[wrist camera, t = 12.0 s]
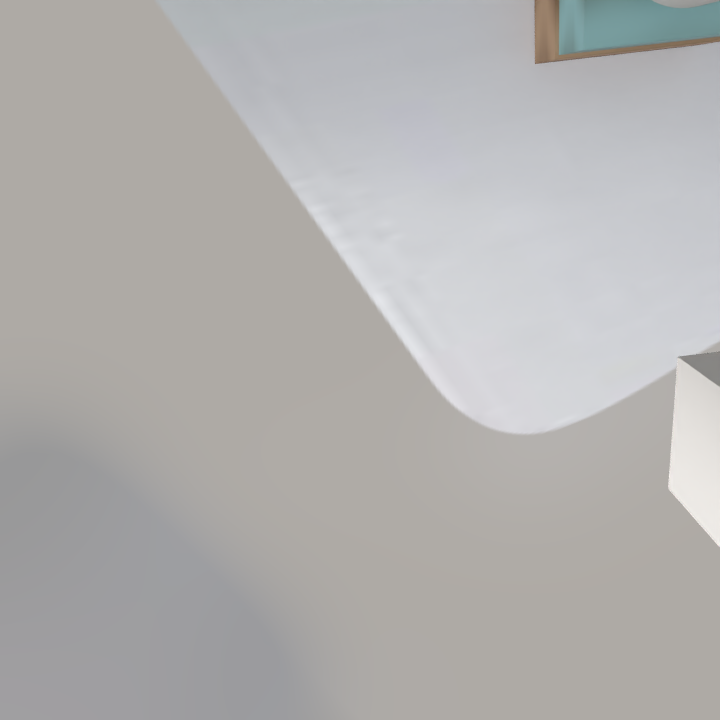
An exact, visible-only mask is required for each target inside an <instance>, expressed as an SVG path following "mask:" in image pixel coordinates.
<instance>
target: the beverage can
mask: <svg viewBox="0 0 720 720" xmlns="http://www.w3.org/2000/svg"><path fill="white" fill-rule="evenodd" d="M652 1H654V2H656V3H658V4H661V5H664V6H667V7H672V8H692V7H697V6H702V5H706V4H709V3H713V2H717V1H720V0H652Z"/></svg>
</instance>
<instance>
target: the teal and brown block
mask: <svg viewBox="0 0 720 720" xmlns="http://www.w3.org/2000/svg"><path fill="white" fill-rule="evenodd" d="M713 42H720V1H717V2H713V3H709V4H706V5H702V6H697V7H692V8H672V7H667V6H664V5H661V4H658V3H656V2H654V1H652V0H535V64H538V63H547V62H556V61H564V60H573V59H582V58H590V57H599V56H607V55H616V54H625V53H633V52H642V51H651V50H659V49H668V48H677V47H685V46H694V45H701V44H707V43H713Z"/></svg>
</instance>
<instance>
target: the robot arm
mask: <svg viewBox="0 0 720 720" xmlns="http://www.w3.org/2000/svg"><path fill="white" fill-rule="evenodd" d="M672 432H673V433H672V445H671V459H670V472H669V486H668V488H669V490H670V491H671V492H672V493H673V494H674V496H675V497H676V498H677V499H678V500H679V501H680V502H681V503H682V505H683V506H684V507H685V508H686V509H687V510H688V511H689V513H690V514H691V515H692V516H693V517H694V518H695V519H696V521H697V522H698V523H699V524H700V525H701V526H702V527H703V529H704V530H705V531H706V532H707V533H708V534H709V535H710V536H711V538H712V539H713V540H714V541H715V542H716V543H717V545H718V546H719V547H720V352H714V353H705V354H696V355H688V356H680V357H678V361H677V375H676V389H675V404H674V417H673V431H672Z"/></svg>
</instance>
